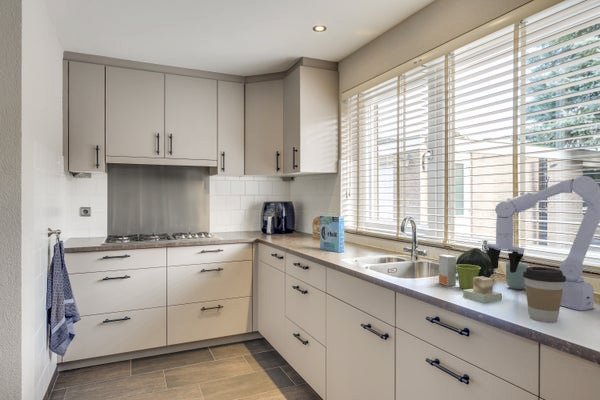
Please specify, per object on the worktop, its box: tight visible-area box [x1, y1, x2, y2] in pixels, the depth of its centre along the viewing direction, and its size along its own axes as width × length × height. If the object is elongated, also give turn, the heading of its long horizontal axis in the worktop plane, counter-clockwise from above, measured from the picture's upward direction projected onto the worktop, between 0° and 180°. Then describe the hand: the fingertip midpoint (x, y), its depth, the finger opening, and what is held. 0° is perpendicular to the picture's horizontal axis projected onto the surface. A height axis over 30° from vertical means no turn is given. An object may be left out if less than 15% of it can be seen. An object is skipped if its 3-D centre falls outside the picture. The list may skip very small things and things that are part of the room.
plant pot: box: [456, 264, 481, 290], centre depth 157 cm, size 9×9×9 cm
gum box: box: [319, 214, 345, 253], centre depth 258 cm, size 20×5×23 cm, turn 36°
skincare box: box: [438, 254, 457, 287], centre depth 163 cm, size 6×4×12 cm
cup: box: [505, 261, 529, 291], centre depth 157 cm, size 8×8×10 cm
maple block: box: [473, 276, 494, 294], centre depth 141 cm, size 4×4×5 cm
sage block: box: [462, 289, 503, 304], centre depth 141 cm, size 9×9×3 cm
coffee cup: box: [523, 266, 566, 324], centre depth 118 cm, size 11×11×15 cm
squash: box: [456, 247, 494, 278], centre depth 173 cm, size 14×15×15 cm
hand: (503, 270), depth 145 cm, fingers open, 7 cm apart
